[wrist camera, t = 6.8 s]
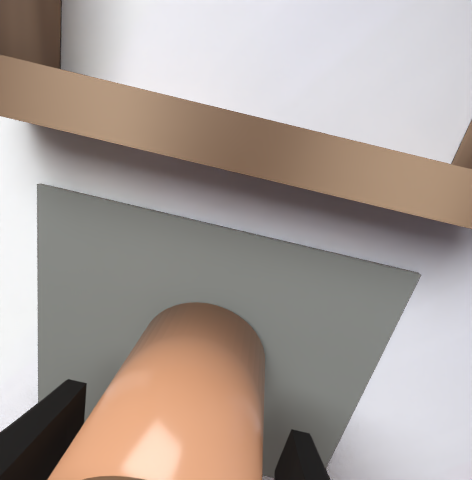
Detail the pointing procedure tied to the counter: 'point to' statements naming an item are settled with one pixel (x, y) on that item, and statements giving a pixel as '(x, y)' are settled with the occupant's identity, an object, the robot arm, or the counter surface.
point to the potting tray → (215, 129)
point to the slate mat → (216, 293)
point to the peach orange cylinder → (178, 405)
